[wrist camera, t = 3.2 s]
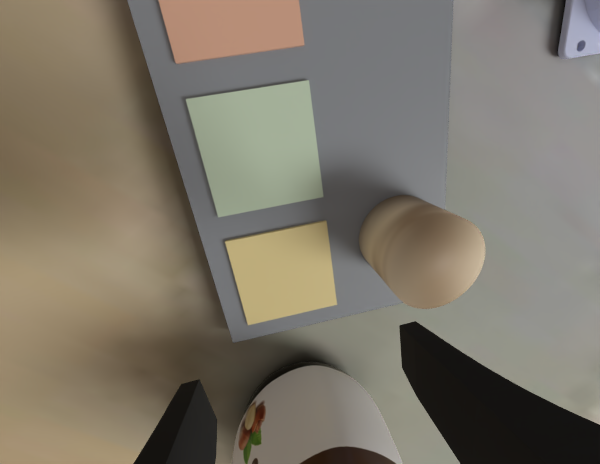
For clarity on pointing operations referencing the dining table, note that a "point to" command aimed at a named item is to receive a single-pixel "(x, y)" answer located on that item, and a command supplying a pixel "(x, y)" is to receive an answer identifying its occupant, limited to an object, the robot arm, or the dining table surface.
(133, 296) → the dining table surface
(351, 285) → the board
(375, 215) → the disc
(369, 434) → the spread jar
